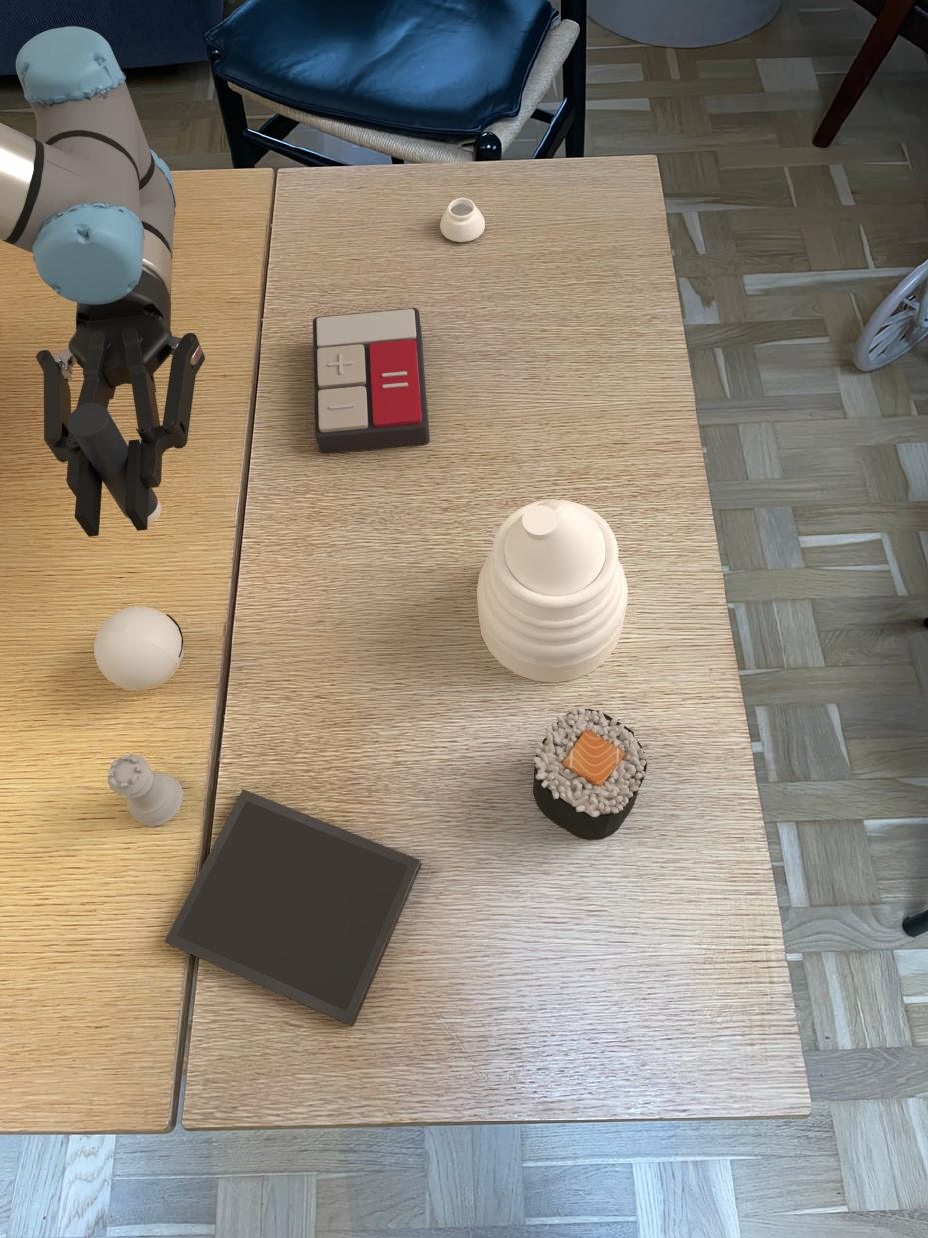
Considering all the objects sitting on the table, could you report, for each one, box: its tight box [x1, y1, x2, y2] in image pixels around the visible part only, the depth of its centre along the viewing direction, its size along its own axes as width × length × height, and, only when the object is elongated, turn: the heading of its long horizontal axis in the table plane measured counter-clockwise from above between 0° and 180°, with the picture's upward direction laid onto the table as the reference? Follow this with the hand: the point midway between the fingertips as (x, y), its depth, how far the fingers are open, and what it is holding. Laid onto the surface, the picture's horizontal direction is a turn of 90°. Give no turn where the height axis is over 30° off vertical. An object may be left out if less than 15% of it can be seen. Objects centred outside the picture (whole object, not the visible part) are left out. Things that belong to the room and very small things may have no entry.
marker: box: [68, 403, 163, 526], centre depth 76 cm, size 3×3×12 cm
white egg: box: [93, 590, 184, 692], centre depth 85 cm, size 10×7×7 cm
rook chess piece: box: [107, 753, 184, 827], centre depth 78 cm, size 4×4×8 cm
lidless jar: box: [439, 197, 486, 243], centre depth 110 cm, size 5×3×5 cm
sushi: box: [532, 706, 649, 841], centre depth 77 cm, size 8×8×8 cm
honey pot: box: [476, 498, 629, 683], centre depth 80 cm, size 13×13×18 cm
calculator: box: [312, 307, 431, 454], centre depth 99 cm, size 11×4×15 cm
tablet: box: [163, 789, 423, 1027], centre depth 77 cm, size 16×13×1 cm
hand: (111, 523), depth 73 cm, fingers closed on marker, 3 cm apart
